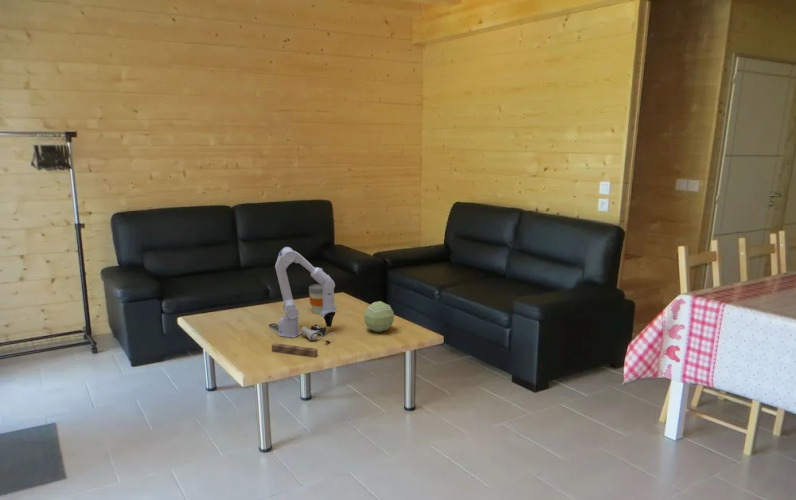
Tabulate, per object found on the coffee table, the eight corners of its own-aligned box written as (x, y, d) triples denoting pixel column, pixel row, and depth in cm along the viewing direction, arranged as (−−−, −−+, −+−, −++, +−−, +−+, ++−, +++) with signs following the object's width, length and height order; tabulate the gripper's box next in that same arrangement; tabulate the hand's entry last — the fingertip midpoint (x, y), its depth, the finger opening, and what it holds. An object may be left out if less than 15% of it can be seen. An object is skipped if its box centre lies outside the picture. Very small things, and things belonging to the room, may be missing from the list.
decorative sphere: (399, 332, 294) (399, 304, 291) (373, 337, 286) (373, 308, 283) (384, 324, 306) (384, 297, 304) (359, 329, 299) (359, 301, 296)
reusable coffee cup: (311, 308, 334) (310, 283, 331) (333, 309, 334) (332, 283, 331) (307, 315, 322) (306, 289, 319) (329, 315, 321) (329, 289, 318)
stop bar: (271, 351, 266) (271, 345, 266) (275, 349, 269) (275, 343, 269) (314, 357, 259) (314, 351, 259) (317, 355, 262) (317, 348, 262)
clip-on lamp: (338, 346, 283) (315, 330, 294) (341, 334, 281) (318, 318, 292) (320, 350, 274) (297, 333, 285) (322, 338, 272) (299, 322, 283)
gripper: (329, 305, 284) (329, 331, 287) (341, 297, 298) (341, 323, 301) (316, 303, 287) (317, 330, 289) (329, 296, 300) (329, 321, 303)
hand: (328, 326), depth 295 cm, fingers closed
